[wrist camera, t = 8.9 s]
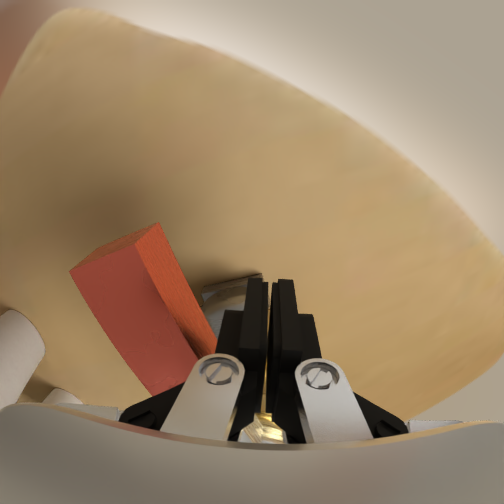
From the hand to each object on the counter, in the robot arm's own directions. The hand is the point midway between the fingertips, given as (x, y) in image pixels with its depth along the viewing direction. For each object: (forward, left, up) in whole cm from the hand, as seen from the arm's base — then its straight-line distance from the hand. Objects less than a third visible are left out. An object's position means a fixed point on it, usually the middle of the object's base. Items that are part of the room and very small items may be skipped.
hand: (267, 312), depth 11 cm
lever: (-3, +3, +1) cm, 5 cm away
